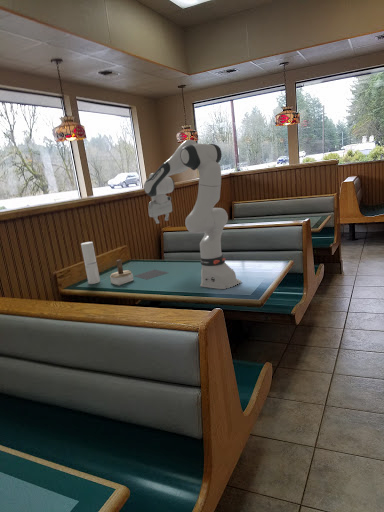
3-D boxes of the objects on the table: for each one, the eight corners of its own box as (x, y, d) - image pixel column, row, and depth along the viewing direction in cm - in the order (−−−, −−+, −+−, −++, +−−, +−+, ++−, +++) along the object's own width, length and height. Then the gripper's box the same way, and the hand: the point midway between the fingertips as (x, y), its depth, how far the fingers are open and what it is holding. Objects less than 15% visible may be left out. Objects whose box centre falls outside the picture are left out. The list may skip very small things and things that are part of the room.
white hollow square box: (133, 280, 228) (132, 273, 227) (118, 285, 222) (117, 278, 221) (125, 278, 236) (124, 271, 235) (111, 283, 230) (109, 275, 229)
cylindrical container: (98, 283, 234) (90, 243, 228) (87, 284, 234) (79, 244, 228) (101, 279, 240) (94, 241, 235) (90, 281, 241) (82, 242, 235)
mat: (168, 273, 235) (168, 272, 235) (146, 280, 226) (146, 279, 225) (154, 270, 247) (154, 269, 247) (133, 276, 238) (133, 276, 238)
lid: (134, 273, 227) (132, 258, 225) (117, 279, 220) (114, 263, 218) (125, 271, 236) (122, 256, 234) (107, 276, 229) (104, 261, 227)
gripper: (152, 201, 221) (156, 225, 224) (172, 197, 238) (175, 218, 241) (144, 202, 225) (147, 225, 228) (164, 197, 241) (167, 219, 244)
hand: (162, 222), depth 234 cm, fingers open, 8 cm apart
